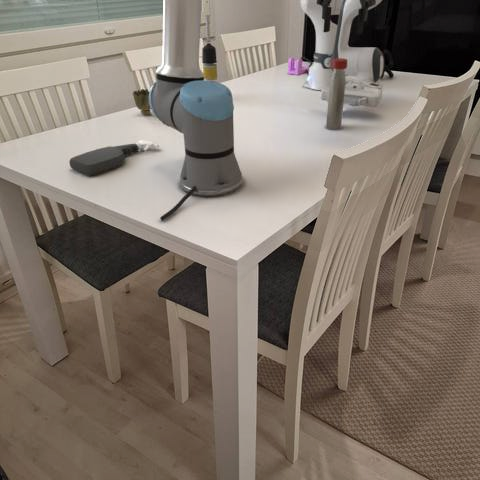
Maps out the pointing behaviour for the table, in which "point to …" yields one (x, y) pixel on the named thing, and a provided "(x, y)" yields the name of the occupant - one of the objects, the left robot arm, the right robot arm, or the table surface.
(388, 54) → the squiggle
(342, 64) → the cap
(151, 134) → the table surface
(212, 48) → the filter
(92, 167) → the spray bottle
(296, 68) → the bracket
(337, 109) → the bottle
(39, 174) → the table surface
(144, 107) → the cup
